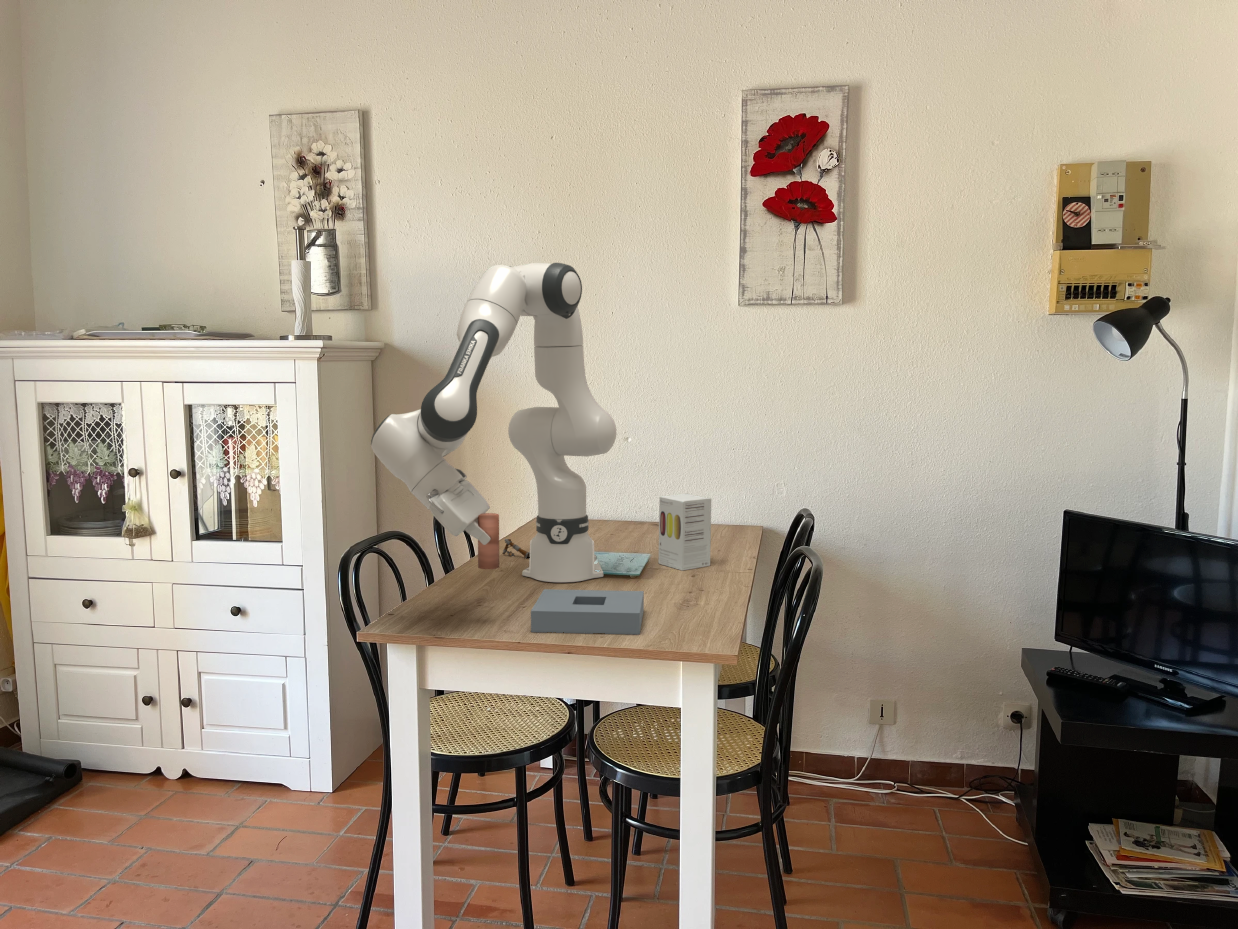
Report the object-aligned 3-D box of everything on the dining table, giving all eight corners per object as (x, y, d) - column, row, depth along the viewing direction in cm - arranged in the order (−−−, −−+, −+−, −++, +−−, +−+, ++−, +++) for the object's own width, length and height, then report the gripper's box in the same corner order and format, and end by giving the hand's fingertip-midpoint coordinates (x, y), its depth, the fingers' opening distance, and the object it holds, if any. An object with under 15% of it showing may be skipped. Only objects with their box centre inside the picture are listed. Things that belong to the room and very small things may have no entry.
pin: (480, 564, 177) (480, 512, 176) (501, 564, 177) (500, 513, 176) (476, 569, 173) (475, 516, 172) (497, 569, 173) (496, 516, 172)
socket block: (544, 608, 185) (544, 589, 185) (643, 610, 184) (643, 591, 183) (530, 632, 169) (530, 611, 169) (639, 634, 168) (639, 613, 168)
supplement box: (657, 564, 226) (657, 496, 224) (685, 559, 231) (686, 492, 230) (682, 571, 218) (683, 500, 216) (711, 566, 224) (712, 497, 222)
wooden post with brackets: (502, 551, 237) (507, 536, 236) (526, 566, 234) (532, 551, 233) (498, 552, 236) (503, 537, 234) (522, 567, 232) (528, 552, 231)
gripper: (436, 483, 163) (491, 538, 163) (463, 469, 183) (513, 518, 184) (412, 507, 164) (467, 562, 164) (442, 491, 184) (491, 539, 185)
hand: (491, 539), depth 174 cm, fingers closed on pin, 4 cm apart
